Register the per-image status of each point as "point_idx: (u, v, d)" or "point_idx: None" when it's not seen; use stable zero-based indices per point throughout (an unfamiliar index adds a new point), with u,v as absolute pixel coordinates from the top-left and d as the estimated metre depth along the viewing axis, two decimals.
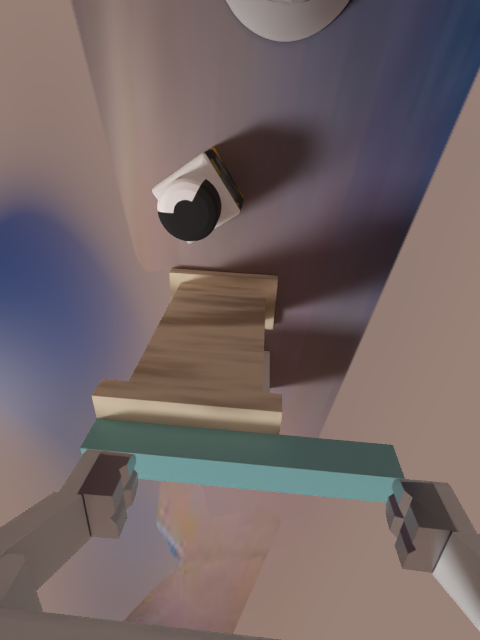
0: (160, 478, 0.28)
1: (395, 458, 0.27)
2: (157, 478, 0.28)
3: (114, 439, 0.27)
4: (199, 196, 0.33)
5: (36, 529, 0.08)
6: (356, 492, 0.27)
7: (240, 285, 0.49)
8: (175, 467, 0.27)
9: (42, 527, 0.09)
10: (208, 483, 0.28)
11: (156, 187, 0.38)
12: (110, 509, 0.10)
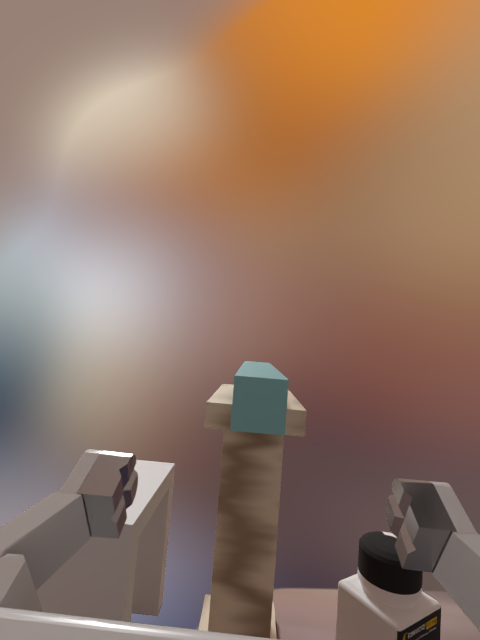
0: None
1: (286, 411, 0.20)
2: None
3: None
4: None
5: (36, 529, 0.08)
6: (250, 373, 0.23)
7: None
8: None
9: (42, 527, 0.09)
10: (244, 364, 0.34)
11: None
12: (110, 509, 0.10)
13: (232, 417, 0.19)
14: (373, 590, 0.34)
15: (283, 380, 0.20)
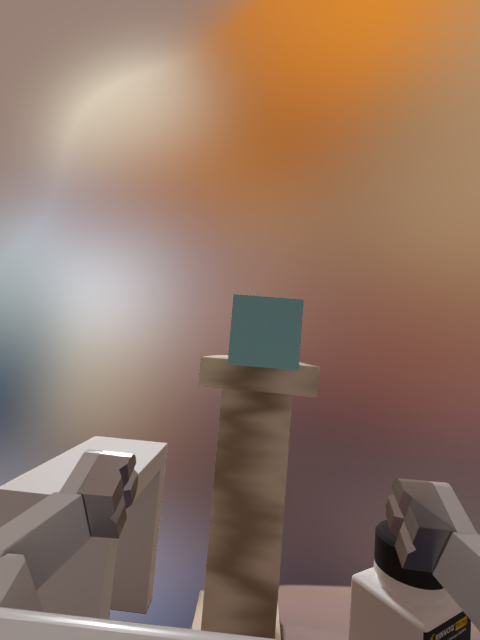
0: None
1: (300, 340, 0.15)
2: None
3: None
4: None
5: (36, 529, 0.08)
6: None
7: None
8: None
9: (42, 527, 0.09)
10: None
11: None
12: (110, 509, 0.10)
13: (230, 347, 0.15)
14: (393, 585, 0.30)
15: (296, 300, 0.15)
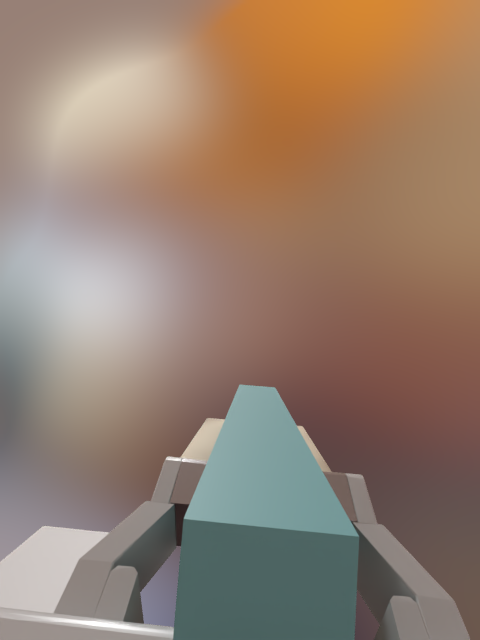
0: (240, 393, 0.24)
1: (351, 637, 0.06)
2: (239, 392, 0.24)
3: None
4: None
5: (138, 540, 0.08)
6: (239, 466, 0.09)
7: None
8: (262, 397, 0.23)
9: (143, 538, 0.09)
10: (236, 401, 0.20)
11: None
12: None
13: None
14: None
15: (342, 537, 0.06)
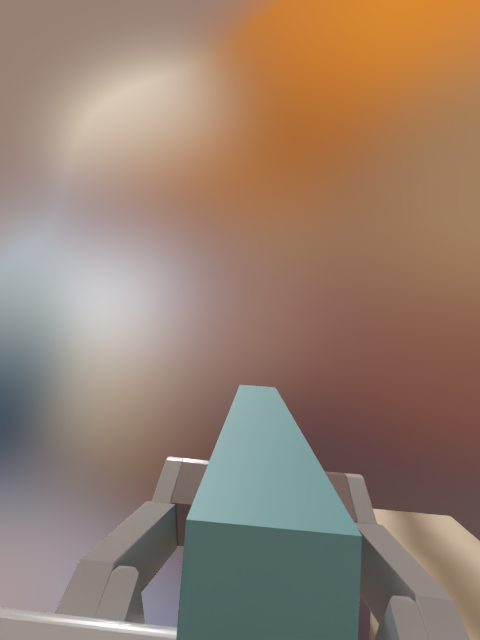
0: (240, 393, 0.24)
1: (354, 637, 0.06)
2: (239, 393, 0.24)
3: None
4: None
5: (139, 540, 0.08)
6: (241, 467, 0.09)
7: None
8: (263, 397, 0.23)
9: (144, 538, 0.09)
10: (237, 401, 0.20)
11: None
12: None
13: None
14: None
15: (344, 537, 0.06)
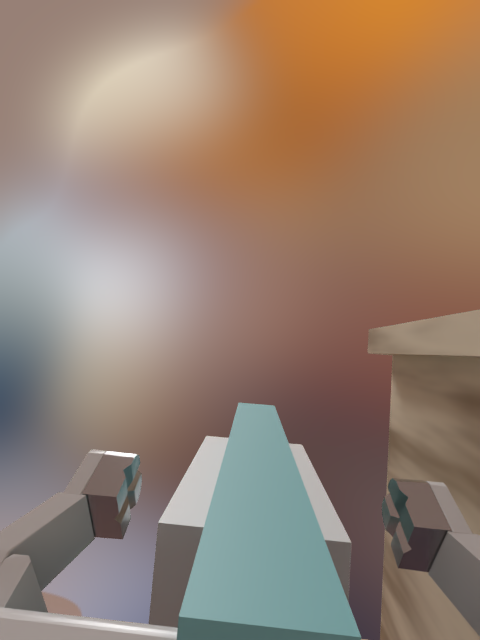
0: (239, 416, 0.24)
1: None
2: (238, 415, 0.24)
3: None
4: None
5: (40, 530, 0.08)
6: (237, 531, 0.09)
7: None
8: (262, 421, 0.23)
9: (47, 527, 0.09)
10: (235, 428, 0.20)
11: None
12: (114, 510, 0.10)
13: None
14: None
15: (343, 637, 0.06)
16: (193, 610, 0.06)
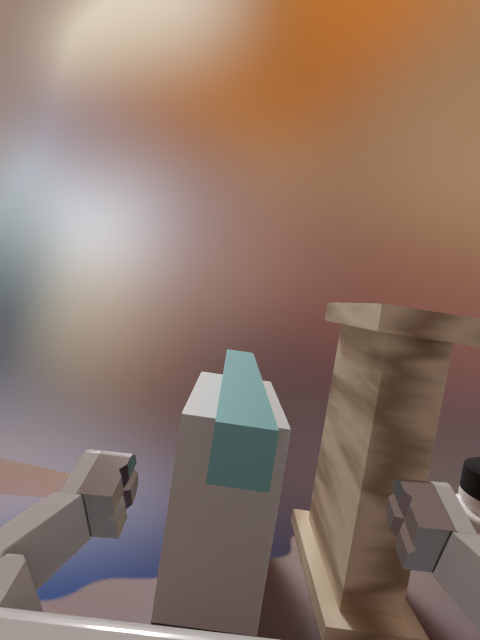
0: (228, 358, 0.34)
1: (272, 465, 0.17)
2: (228, 357, 0.35)
3: None
4: None
5: (35, 529, 0.08)
6: (233, 405, 0.19)
7: None
8: (244, 362, 0.33)
9: (42, 527, 0.09)
10: (227, 365, 0.31)
11: None
12: (110, 509, 0.10)
13: (209, 469, 0.16)
14: None
15: (273, 430, 0.16)
16: (220, 420, 0.16)
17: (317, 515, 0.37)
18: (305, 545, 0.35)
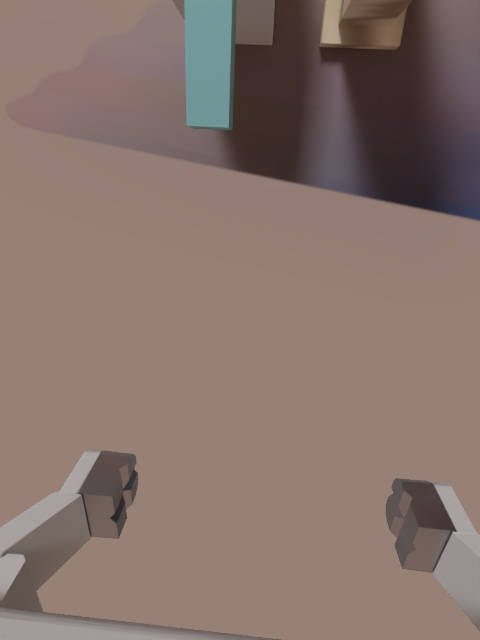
0: None
1: (231, 126, 0.26)
2: None
3: None
4: None
5: (35, 529, 0.08)
6: (198, 76, 0.24)
7: None
8: None
9: (42, 527, 0.09)
10: None
11: None
12: (110, 509, 0.10)
13: None
14: None
15: (224, 127, 0.25)
16: (189, 123, 0.25)
17: None
18: None
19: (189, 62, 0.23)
